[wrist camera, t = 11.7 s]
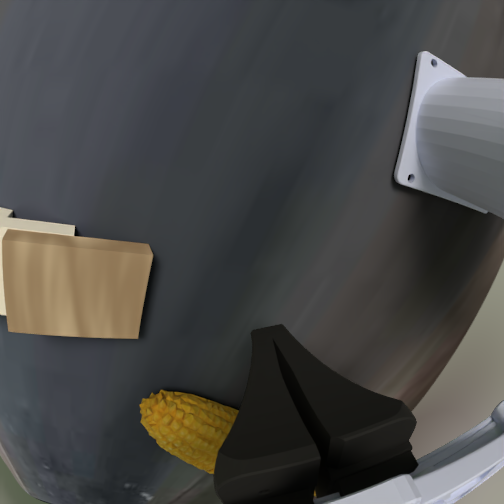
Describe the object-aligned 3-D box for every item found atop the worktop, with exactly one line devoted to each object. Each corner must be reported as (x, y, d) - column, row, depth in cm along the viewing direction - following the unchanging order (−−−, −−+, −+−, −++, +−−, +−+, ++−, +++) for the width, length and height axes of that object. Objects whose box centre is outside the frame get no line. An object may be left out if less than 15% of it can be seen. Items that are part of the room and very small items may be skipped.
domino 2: (153, 255, 14) (1, 239, 10) (137, 338, 16) (8, 331, 12) (148, 244, 15) (7, 228, 11) (133, 324, 17) (11, 317, 13)
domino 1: (74, 235, 13) (-56, 219, 9) (68, 321, 14) (-46, 308, 10) (74, 225, 14) (-48, 210, 10) (68, 308, 15) (-41, 295, 11)
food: (352, 433, 26) (374, 479, 21) (311, 461, 28) (327, 506, 22) (162, 356, 18) (159, 435, 13) (122, 400, 19) (114, 469, 14)
